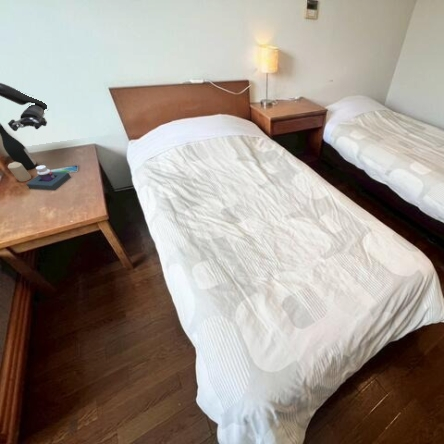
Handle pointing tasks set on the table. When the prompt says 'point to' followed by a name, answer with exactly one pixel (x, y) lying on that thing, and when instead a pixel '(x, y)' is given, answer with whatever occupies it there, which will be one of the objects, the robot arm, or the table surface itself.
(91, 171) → the table surface
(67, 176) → the socket pad
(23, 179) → the candle
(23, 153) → the wine bottle
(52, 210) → the table surface
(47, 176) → the pill bottle
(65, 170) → the smartphone
